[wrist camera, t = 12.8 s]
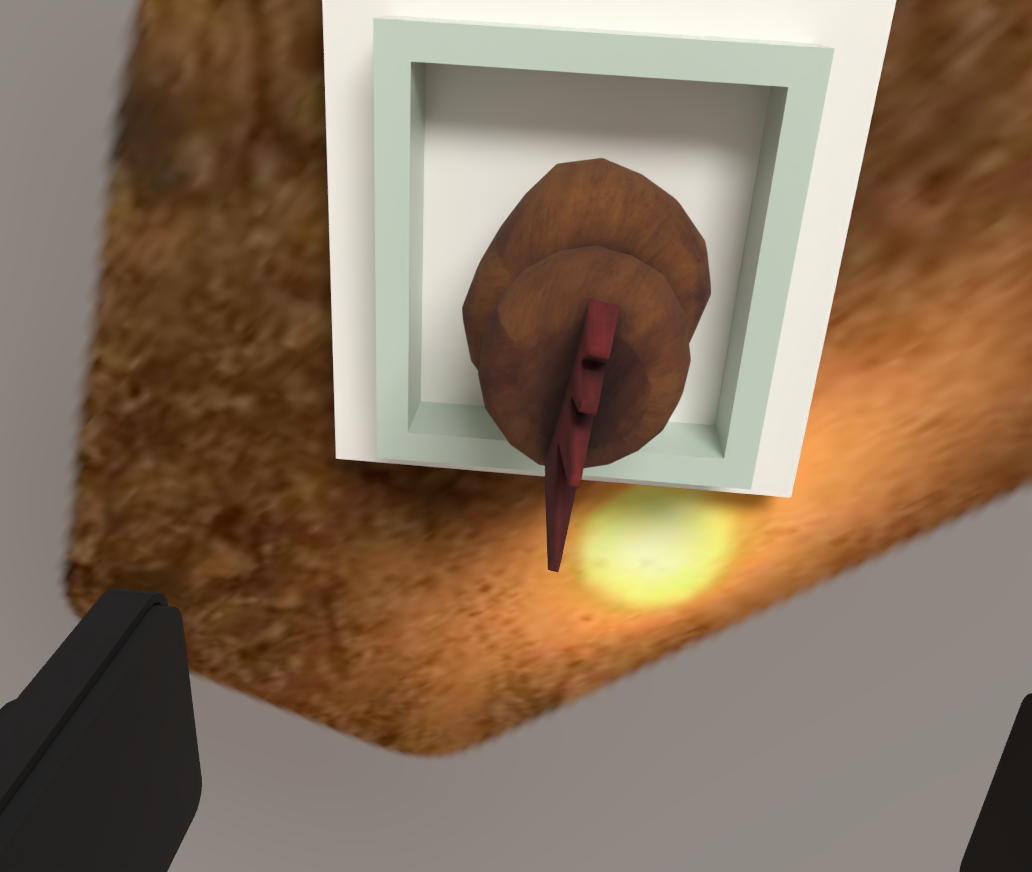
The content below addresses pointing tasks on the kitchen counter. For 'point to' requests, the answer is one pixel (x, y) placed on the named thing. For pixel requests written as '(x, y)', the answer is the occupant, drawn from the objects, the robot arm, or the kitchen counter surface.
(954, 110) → the kitchen counter surface
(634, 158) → the ceramic stand
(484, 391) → the wooden figurine
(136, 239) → the kitchen counter surface
